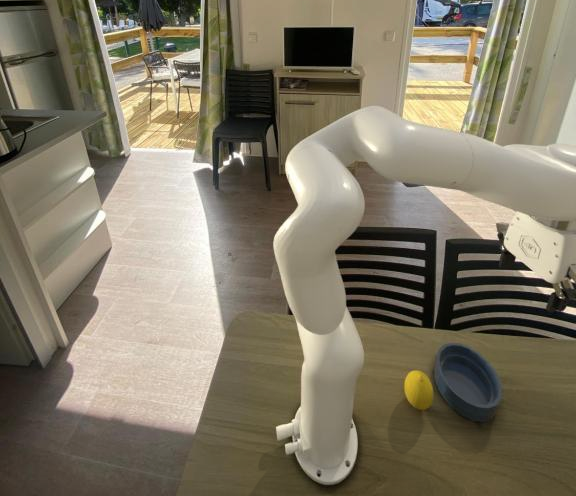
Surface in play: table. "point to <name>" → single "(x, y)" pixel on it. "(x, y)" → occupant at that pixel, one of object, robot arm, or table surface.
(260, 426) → the table surface
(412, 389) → the lemon
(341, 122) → the robot arm
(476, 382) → the bowl
